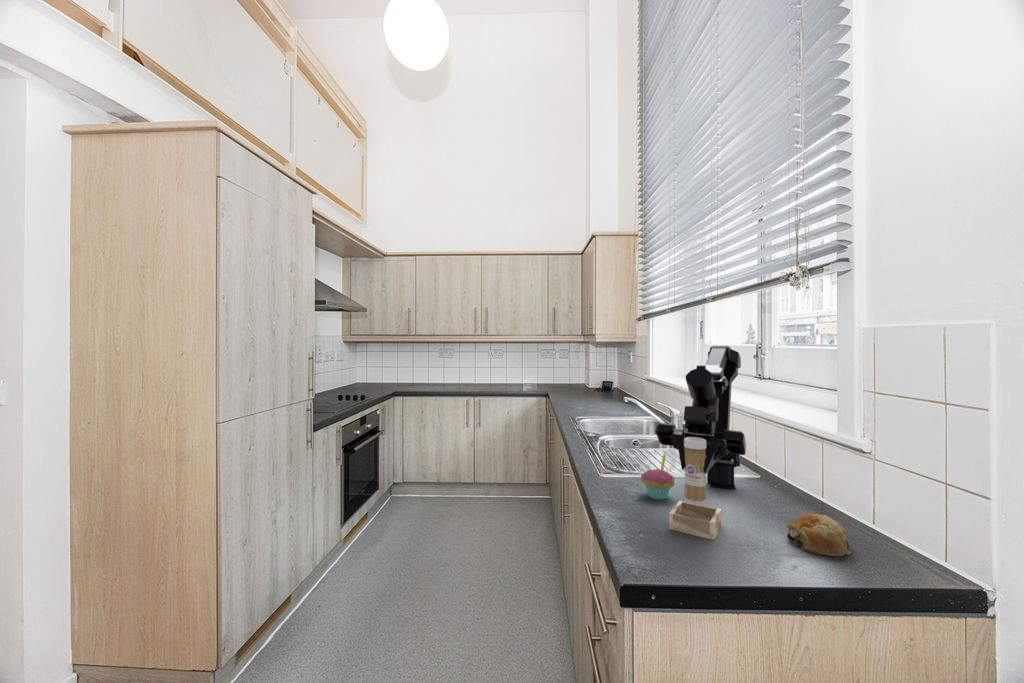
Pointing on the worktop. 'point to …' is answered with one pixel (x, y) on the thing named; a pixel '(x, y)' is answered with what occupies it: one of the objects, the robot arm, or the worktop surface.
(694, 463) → the sprinkles bottle
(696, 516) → the box
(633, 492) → the worktop surface
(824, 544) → the bread roll
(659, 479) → the cupcake
